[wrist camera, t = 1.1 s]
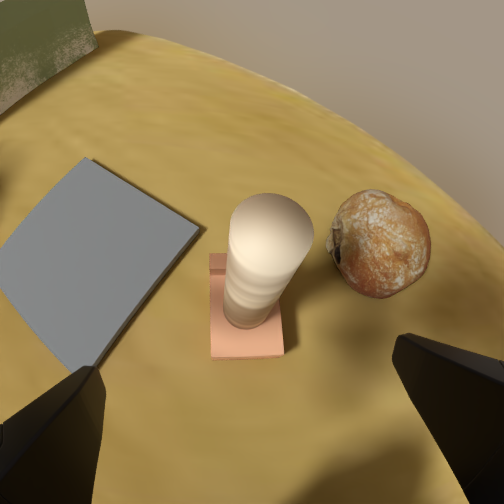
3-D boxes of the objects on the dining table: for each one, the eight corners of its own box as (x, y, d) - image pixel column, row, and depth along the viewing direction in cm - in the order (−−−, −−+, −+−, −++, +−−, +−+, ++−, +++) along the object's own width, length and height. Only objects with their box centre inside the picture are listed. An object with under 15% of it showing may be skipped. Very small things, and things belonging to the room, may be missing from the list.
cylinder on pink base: (278, 357, 22) (350, 314, 10) (211, 360, 21) (205, 321, 9) (271, 270, 25) (317, 160, 13) (210, 270, 24) (208, 155, 12)
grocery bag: (67, 43, 44) (54, -39, 23) (100, 47, 42) (89, -51, 21) (-46, 133, 30) (-86, 47, 9) (-32, 151, 28) (-84, 45, 7)
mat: (199, 232, 25) (199, 227, 25) (85, 382, 19) (80, 381, 18) (87, 161, 28) (85, 156, 27) (-9, 270, 21) (-13, 267, 20)
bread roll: (317, 229, 31) (305, 192, 24) (400, 198, 30) (410, 154, 22) (349, 317, 27) (349, 303, 20) (439, 279, 25) (466, 253, 18)
